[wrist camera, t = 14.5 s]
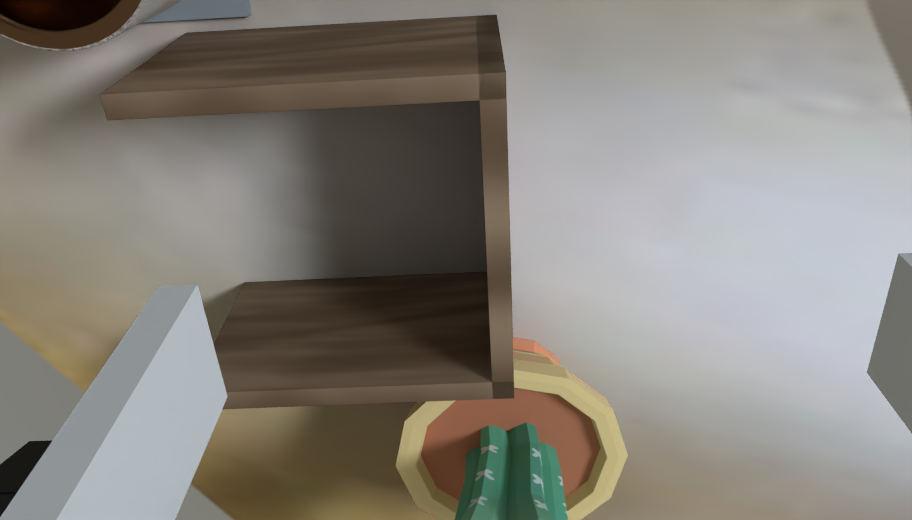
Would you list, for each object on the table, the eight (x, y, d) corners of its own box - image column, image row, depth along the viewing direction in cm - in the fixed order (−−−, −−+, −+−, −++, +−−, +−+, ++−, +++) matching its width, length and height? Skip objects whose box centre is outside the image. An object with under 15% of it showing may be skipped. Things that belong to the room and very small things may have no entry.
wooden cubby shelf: (186, 32, 44) (99, 94, 34) (496, 14, 43) (505, 72, 33) (248, 296, 53) (194, 410, 43) (505, 285, 52) (514, 398, 42)
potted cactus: (458, 266, 52) (451, 580, 30) (648, 347, 55) (766, 684, 33) (372, 419, 59) (316, 765, 37) (545, 483, 62) (587, 835, 40)
